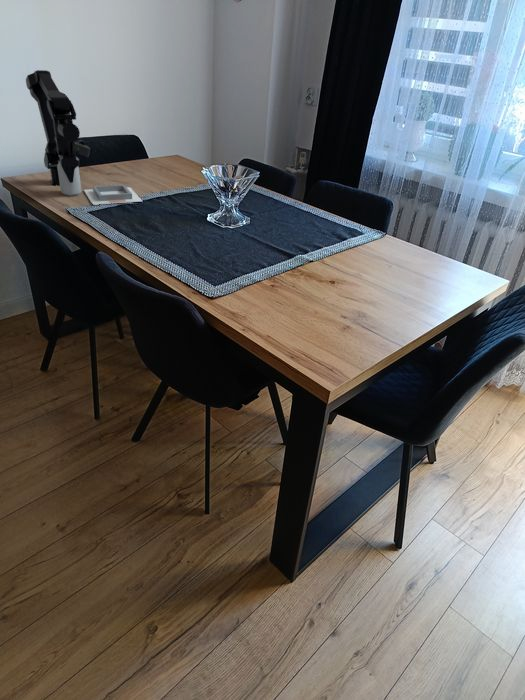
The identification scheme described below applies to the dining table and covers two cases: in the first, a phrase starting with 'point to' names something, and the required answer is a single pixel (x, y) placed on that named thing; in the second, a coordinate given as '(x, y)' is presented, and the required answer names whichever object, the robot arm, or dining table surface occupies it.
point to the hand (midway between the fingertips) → (69, 179)
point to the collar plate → (111, 194)
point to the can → (65, 185)
